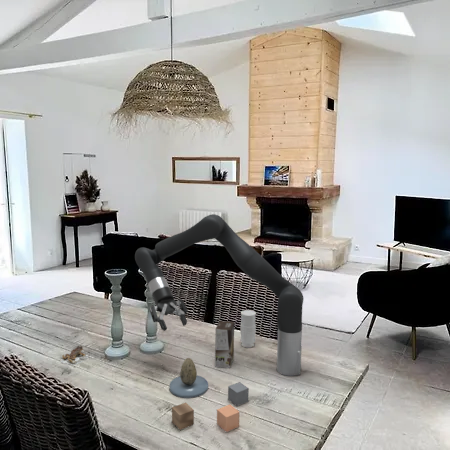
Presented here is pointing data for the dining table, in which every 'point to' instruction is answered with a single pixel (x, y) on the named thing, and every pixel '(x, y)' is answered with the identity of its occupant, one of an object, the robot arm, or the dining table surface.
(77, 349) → the frog figurine
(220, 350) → the coffee box
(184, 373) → the decorative egg
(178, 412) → the walnut block
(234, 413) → the terracotta block
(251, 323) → the candle
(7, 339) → the dining table surface
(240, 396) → the charcoal block
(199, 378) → the round blue platter
